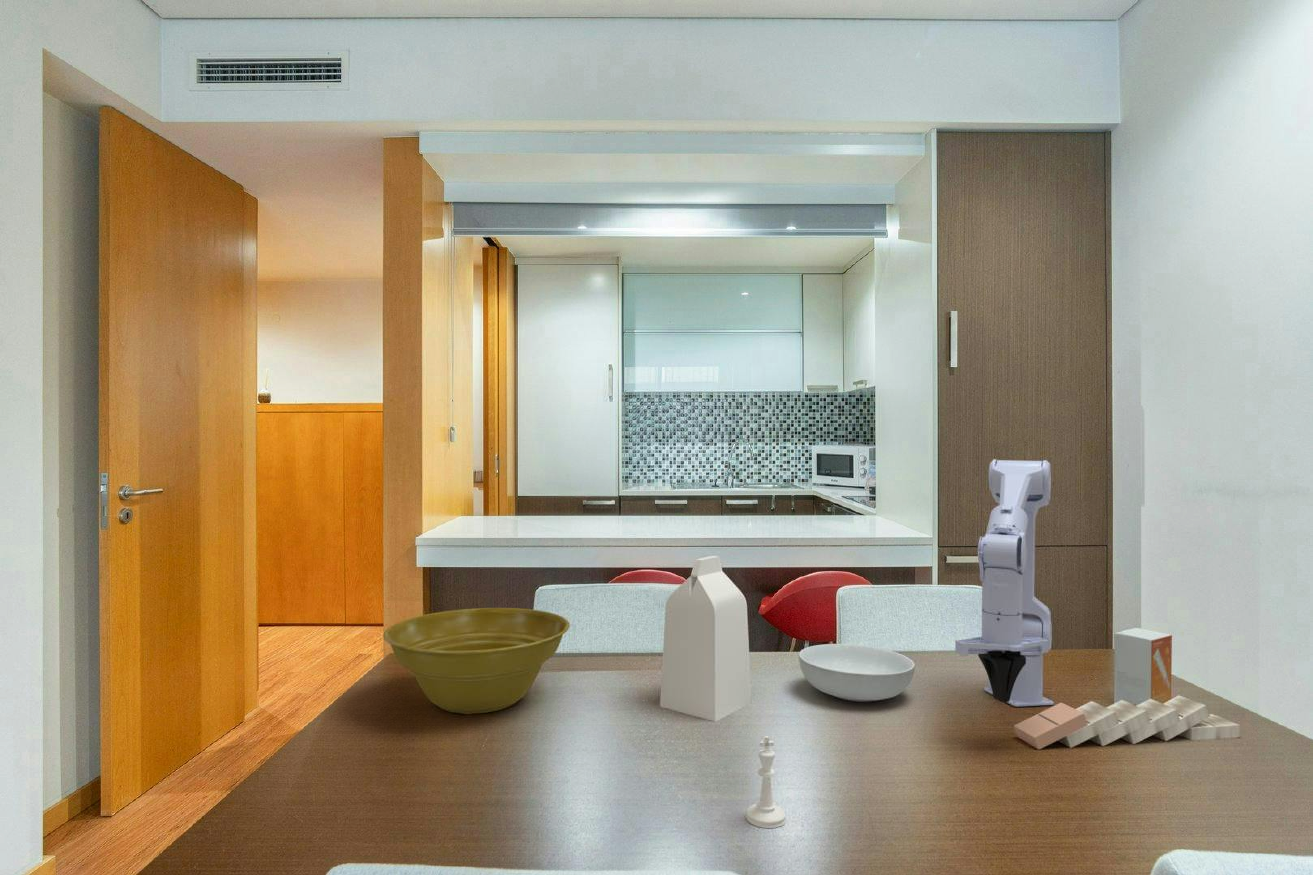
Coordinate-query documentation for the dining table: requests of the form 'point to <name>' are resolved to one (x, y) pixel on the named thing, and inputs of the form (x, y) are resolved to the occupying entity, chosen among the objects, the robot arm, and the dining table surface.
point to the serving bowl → (856, 671)
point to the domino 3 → (1153, 720)
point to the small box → (1142, 666)
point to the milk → (706, 645)
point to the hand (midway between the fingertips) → (1001, 699)
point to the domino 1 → (1091, 723)
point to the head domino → (1050, 725)
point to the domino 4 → (1183, 716)
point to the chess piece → (766, 794)
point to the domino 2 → (1123, 722)
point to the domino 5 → (1212, 729)
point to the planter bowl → (476, 654)
